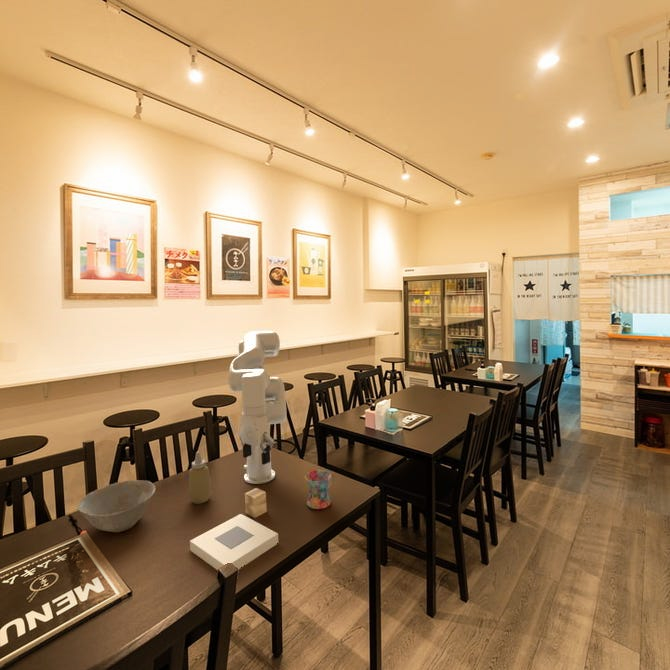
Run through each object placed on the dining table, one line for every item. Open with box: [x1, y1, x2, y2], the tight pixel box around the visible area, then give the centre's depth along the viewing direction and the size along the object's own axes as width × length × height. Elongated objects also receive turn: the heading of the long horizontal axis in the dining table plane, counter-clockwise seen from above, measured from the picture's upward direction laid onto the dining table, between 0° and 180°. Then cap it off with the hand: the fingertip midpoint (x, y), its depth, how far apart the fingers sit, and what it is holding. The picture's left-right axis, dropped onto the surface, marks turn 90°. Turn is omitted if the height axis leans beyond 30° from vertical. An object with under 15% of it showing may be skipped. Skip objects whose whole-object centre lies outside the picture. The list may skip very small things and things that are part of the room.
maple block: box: [244, 487, 268, 519], centre depth 133 cm, size 5×5×7 cm
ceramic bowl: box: [77, 479, 156, 533], centre depth 128 cm, size 22×23×10 cm
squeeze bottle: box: [188, 451, 213, 505], centre depth 142 cm, size 8×8×18 cm
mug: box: [304, 469, 335, 510], centre depth 138 cm, size 12×9×11 cm
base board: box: [189, 513, 279, 571], centre depth 115 cm, size 18×18×3 cm
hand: (256, 459), depth 132 cm, fingers open, 9 cm apart
